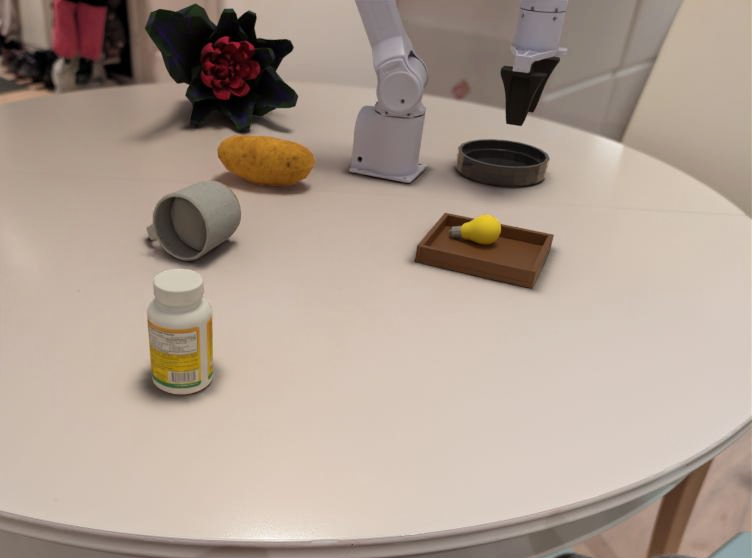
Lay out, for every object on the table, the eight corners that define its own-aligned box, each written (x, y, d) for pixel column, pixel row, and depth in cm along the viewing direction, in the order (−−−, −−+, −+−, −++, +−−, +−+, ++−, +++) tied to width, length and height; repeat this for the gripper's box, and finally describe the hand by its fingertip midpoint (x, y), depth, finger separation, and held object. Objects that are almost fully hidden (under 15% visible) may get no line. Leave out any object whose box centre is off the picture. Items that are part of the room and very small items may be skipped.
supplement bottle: (182, 404, 61) (176, 303, 56) (138, 379, 64) (129, 280, 59) (226, 376, 65) (225, 278, 59) (183, 354, 68) (178, 258, 62)
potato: (298, 200, 99) (301, 150, 96) (209, 183, 104) (208, 134, 100) (320, 182, 105) (323, 135, 101) (235, 166, 110) (234, 120, 106)
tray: (414, 261, 85) (416, 245, 84) (442, 227, 93) (444, 212, 92) (531, 288, 80) (535, 272, 79) (550, 250, 88) (554, 234, 87)
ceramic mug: (246, 241, 88) (245, 178, 84) (209, 268, 82) (206, 201, 78) (172, 224, 92) (167, 163, 88) (132, 248, 86) (125, 184, 82)
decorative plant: (261, 156, 143) (279, 166, 114) (133, 98, 137) (119, 94, 109) (305, 50, 137) (336, 33, 109) (174, -15, 132) (170, -50, 103)
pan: (444, 177, 108) (447, 157, 107) (467, 153, 118) (471, 134, 116) (535, 194, 103) (540, 173, 102) (551, 167, 113) (556, 148, 111)
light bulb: (501, 249, 86) (496, 225, 84) (450, 253, 89) (444, 230, 87) (505, 231, 88) (500, 207, 86) (454, 235, 91) (449, 212, 89)
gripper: (565, 20, 87) (539, 135, 95) (584, 4, 98) (559, 109, 105) (505, 14, 90) (485, 127, 97) (529, -1, 100) (509, 102, 108)
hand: (520, 117), depth 102 cm, fingers open, 7 cm apart
